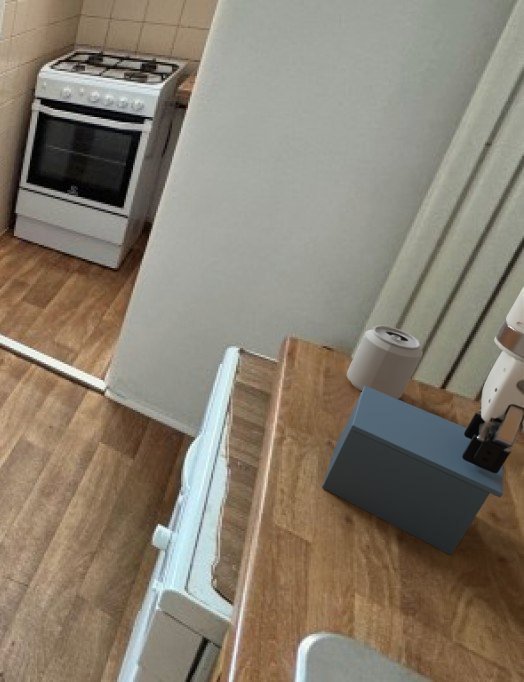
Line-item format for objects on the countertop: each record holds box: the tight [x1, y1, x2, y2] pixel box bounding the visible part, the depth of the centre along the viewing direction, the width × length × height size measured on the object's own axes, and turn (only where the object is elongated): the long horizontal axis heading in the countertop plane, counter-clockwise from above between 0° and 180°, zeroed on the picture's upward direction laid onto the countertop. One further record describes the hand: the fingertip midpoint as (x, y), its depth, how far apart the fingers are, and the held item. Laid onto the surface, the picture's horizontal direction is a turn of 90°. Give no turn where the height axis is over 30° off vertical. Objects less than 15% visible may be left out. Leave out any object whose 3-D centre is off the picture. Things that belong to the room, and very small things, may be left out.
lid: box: [351, 386, 504, 498], centre depth 84 cm, size 14×12×5 cm
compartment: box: [321, 391, 491, 556], centre depth 88 cm, size 14×12×12 cm
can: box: [346, 324, 424, 400], centre depth 108 cm, size 8×8×12 cm
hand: (480, 452), depth 81 cm, fingers closed on lid, 5 cm apart
